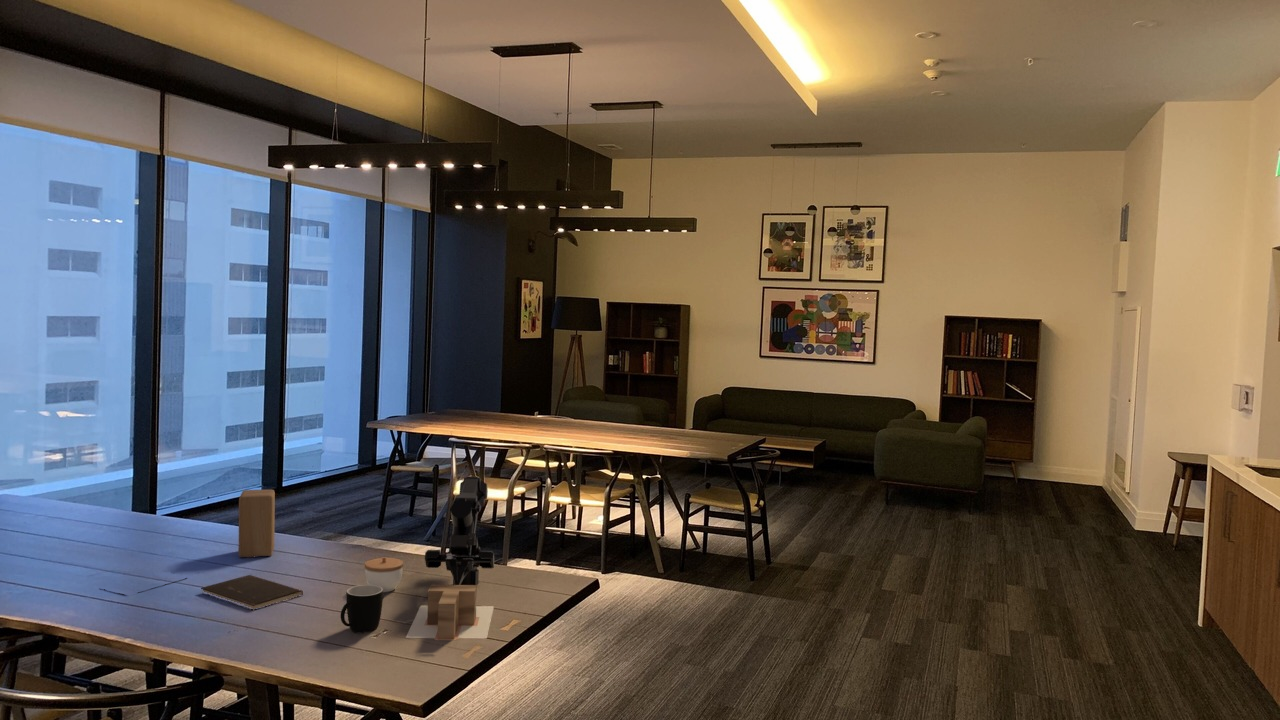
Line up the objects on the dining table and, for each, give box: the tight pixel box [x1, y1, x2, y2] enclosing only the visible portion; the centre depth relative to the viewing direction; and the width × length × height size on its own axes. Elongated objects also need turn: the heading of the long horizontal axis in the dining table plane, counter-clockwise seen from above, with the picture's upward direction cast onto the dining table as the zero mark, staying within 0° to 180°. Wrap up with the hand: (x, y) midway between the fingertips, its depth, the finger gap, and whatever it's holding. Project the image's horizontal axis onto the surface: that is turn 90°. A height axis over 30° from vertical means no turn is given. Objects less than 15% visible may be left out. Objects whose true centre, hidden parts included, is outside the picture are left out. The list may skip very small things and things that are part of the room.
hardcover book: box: [200, 574, 304, 609], centre depth 261 cm, size 16×23×2 cm
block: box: [238, 489, 276, 558], centre depth 299 cm, size 10×10×20 cm
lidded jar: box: [364, 556, 404, 593], centre depth 270 cm, size 11×11×9 cm
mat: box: [405, 605, 495, 641], centre depth 244 cm, size 25×20×1 cm
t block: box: [427, 584, 478, 639], centre depth 240 cm, size 15×12×9 cm
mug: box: [340, 584, 384, 634], centre depth 237 cm, size 12×9×10 cm
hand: (456, 587), depth 254 cm, fingers closed
